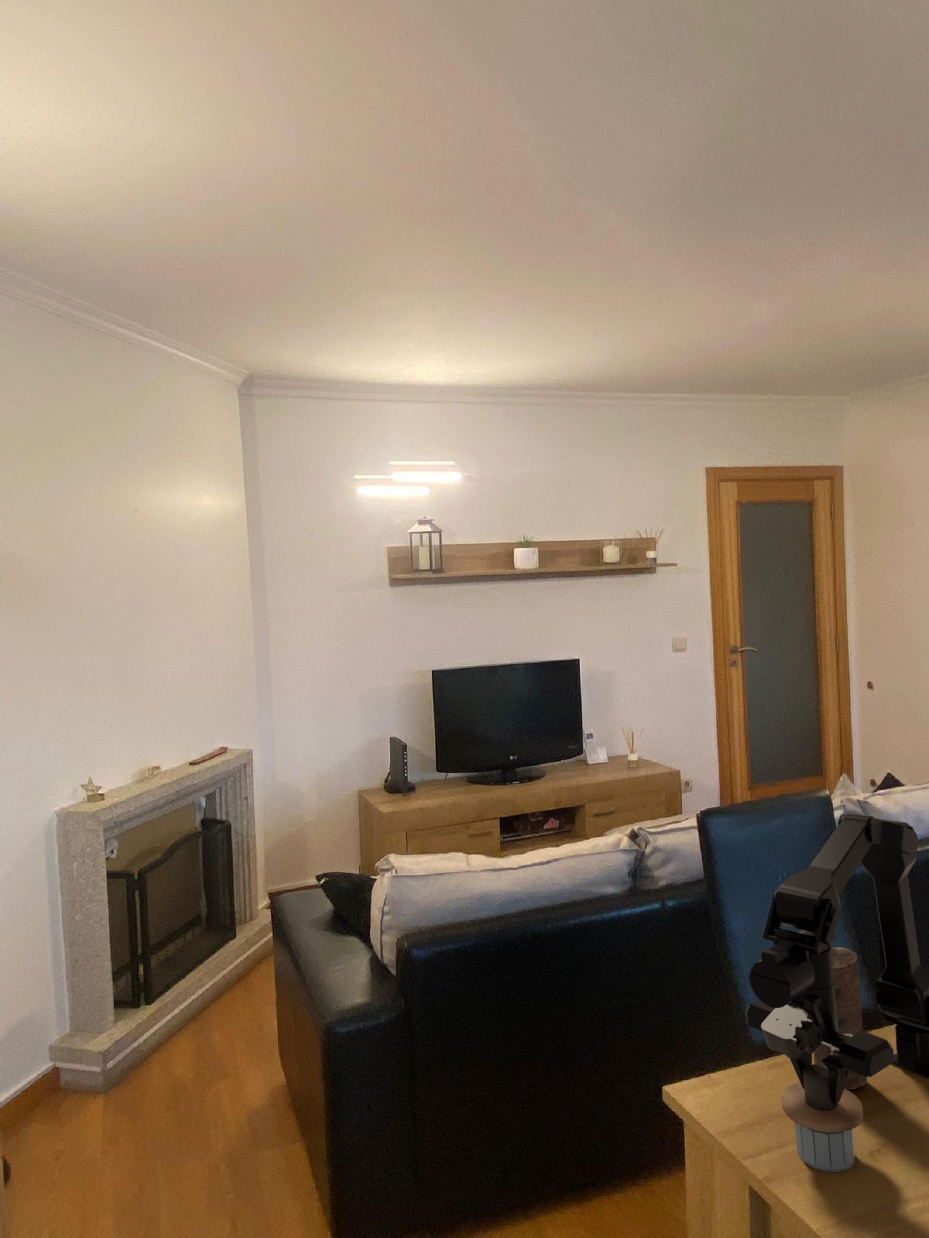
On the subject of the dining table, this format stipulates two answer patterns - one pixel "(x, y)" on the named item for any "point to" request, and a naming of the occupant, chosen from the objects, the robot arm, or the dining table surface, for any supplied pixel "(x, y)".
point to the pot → (825, 1149)
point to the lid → (820, 1103)
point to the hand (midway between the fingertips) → (821, 1095)
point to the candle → (845, 1005)
